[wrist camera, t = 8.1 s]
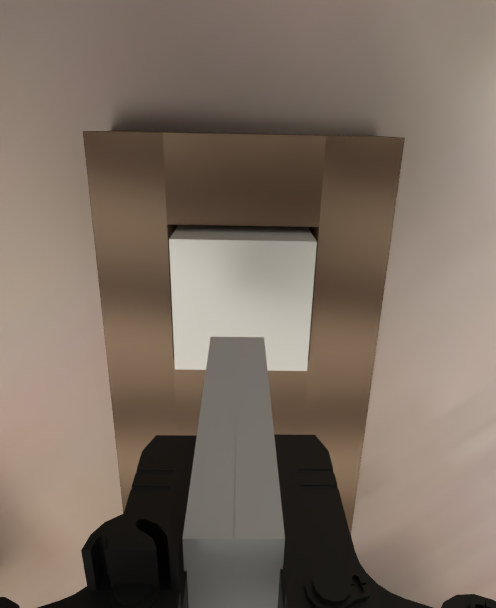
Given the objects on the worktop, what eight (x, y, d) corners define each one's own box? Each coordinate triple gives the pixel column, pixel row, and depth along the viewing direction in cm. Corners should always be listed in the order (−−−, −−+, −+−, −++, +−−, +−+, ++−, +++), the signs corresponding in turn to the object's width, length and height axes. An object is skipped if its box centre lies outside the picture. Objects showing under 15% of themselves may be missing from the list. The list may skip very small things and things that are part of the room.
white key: (179, 223, 21) (168, 239, 18) (306, 225, 21) (316, 241, 18) (183, 338, 23) (174, 369, 20) (299, 340, 24) (307, 371, 21)
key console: (110, 130, 22) (82, 131, 18) (377, 136, 22) (404, 137, 18) (144, 532, 31) (131, 587, 28) (331, 533, 32) (343, 588, 28)
